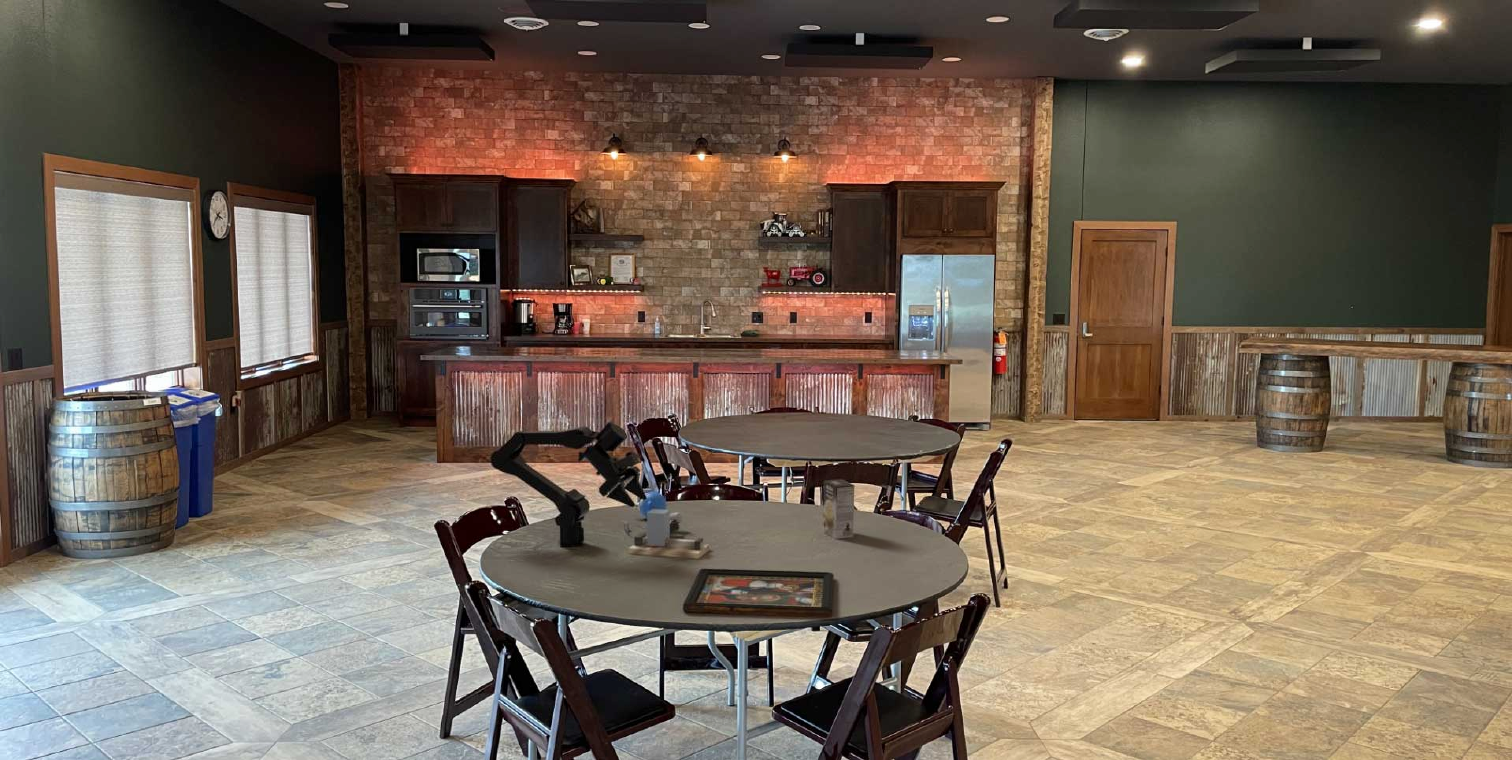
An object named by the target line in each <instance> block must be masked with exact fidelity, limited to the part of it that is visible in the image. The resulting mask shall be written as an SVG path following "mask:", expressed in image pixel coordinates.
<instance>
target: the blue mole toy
mask: <svg viewBox="0 0 1512 760" xmlns="http://www.w3.org/2000/svg"><path fill="white" fill-rule="evenodd" d="M645 495H646V497H647V498H646V499H645V500H642V499H641V498H640V501H638V502H634V503H635V506H634V507H633V508H634V509H635V510H637V511H638V513H640V514H642V515H643V516H644V517H645V518H647V512H649V511H651V510H652V509H661V510H667V501H666V498H665V496H664V495H663V494H661V493H660V492H656V491H651V492H647V493H645Z"/></svg>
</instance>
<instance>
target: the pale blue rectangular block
mask: <svg viewBox="0 0 1512 760" xmlns="http://www.w3.org/2000/svg"><path fill="white" fill-rule="evenodd" d="M670 514H671V513H670V509H666V510H661V509H652V510H651V511H649V512H647V517H646V520H647V521H646V524H647V525H646V527H647V529H646V537H647V545H651V546H665V539H666V538H671V537H670V535H671V534H670V533H671V532H670Z"/></svg>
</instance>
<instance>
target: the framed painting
mask: <svg viewBox="0 0 1512 760" xmlns="http://www.w3.org/2000/svg"><path fill="white" fill-rule="evenodd" d="M834 581H835V580H834V573H832V572H827V571H826V572H825V571H801V570H798V571H797V570H770V569H769V570H762V569H757V570H756V569H729V568H700V569H699V571H698V572H697V575H696V578H695V579H694V581H693V583H692V585H691V587H690V590H689V592H688V594H687V595H686V598H685V600H684V601H683V604H682V611H683V612H685V613H701V612H711V613H710V614H726V613H737V614H736V615H748V614H759V616H780V617H781V616H786V617H789V616H790V617H806V616H819V617H818V618H831V617H832V616H833V608H834V583H835V582H834ZM713 612H714V613H713Z"/></svg>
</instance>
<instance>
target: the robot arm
mask: <svg viewBox="0 0 1512 760" xmlns="http://www.w3.org/2000/svg"><path fill="white" fill-rule="evenodd" d="M627 438H628V434H627V432H626V431H625V430H624V428H623V427H620V426H619V425H617V424H615V423H613V421H609V422H607V423H606V424H605V426H603V428H602V429H601V430H600V431H596V430H592V429H590V427H589V426H584V425H583V426H577V427H573V428H569V429H564V430H526V429H523V430H519V431H516V432H515V433H513V434H512V436H511V437H510V438H509V439H508V440H507V441H506V442H505V443H503V445H501V447H500V448H499V449H497V450H495V451H493V452H492V453H491V456H490V465H491V466H492V467H493V469H496V470H497V471H499V472H501V473H504V474H507V475H510V476H514V477H516V478H518V479H519V480H520V481H522V482H523V483H525V484H527V486H529V487H530V488H532V489H533V490H535V491H536V492H537V493H539V494H541V495H542V496H543V497H545V498H546V499H548V500H549V501H551V502H552V503H553V504H554V505H555V507H556V508H557V511H558V513H559V514H558V515H557V516H556V517H555V518H554V521H555V524H556V526H557V527H558V545H559V547H561V548H563V547H566V548H567V547H580V546H583V545H584V541H585V538H584V537H585V533H584V532H585V531H584V526H583V525H582V521H584V519H585V516H586V515H587V514H588V513H589V511H590V502H589V500H588V499H587V498H586V497H587V496H586V494H585V495H584V494H582V493H581V492H580V491H578V490H577V489H575V488H573V489H571V490H569V491H567V490H564V489H563V488H562V487H560V485H557V484H556V483H555V482H553V481H552V480H550V479H549V478H548V477H546V476H545V475H543V474H542V473H540V472H539V471H537V470H536V469H535V468H533V467H532V466H531V465H529V464H527V462H526V461H525V459H524V457H523V455H522V452H524V450H525V448H526V446H527V445H529V446H531V445H532V446H535V445H536V446H539V445H540V446H541V445H544V446H545V445H546V446H549V445H551V446H552V445H553V446H554V445H555V446H556V445H557V446H562V447H565V448H568V449H573V450H580V449H582V448H585V447H586V449H584V450H581V451H578V458H577V459H578V460H577V461H578V462H583V461H586V460H587V462H588V463H589V464H590V465H591V466H592V467H593V468H594V469H595V471H596V472H595V474H596V475H597V476H601V477H602V478H603V479H604V480H605V481H604V482H603V483H602V484H601V485H600V486H599V487H598V493H599V494H600V495H601V496H602V498H604V497H606V498H607V499H611V500H614V501H616V502H620V503H621V504H624V505H626V506H628V507H631V508H634V506H635V503H636V502H635V501H634V500H633V499H632V497H631V496H630V494H632V495H634V496H636V497H638V498H639V499H640V500H641V499H642V500H645V499H646V498H647V497H646V495H645V494H646V493H645V491H644V489H643V486H642V485H641V483H640V477H641V473H640V472H641V469H640V468H639V467H638V466H637V465H638V464H640V463H641V462H640V460H639V457H640V456H639V454H637V452H634V451H633V450H630V451H628V452H626V453H625V457H622V458H620V459H619V457H617V456H612V455H611V454H610V452H615V451H616V449H618V448H619V446H621V445H622V444H623V443H624V441H626V439H627ZM594 442H596V443H594ZM592 443H594V445H593V444H592ZM628 492H629V493H630V494H629V493H628Z"/></svg>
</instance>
